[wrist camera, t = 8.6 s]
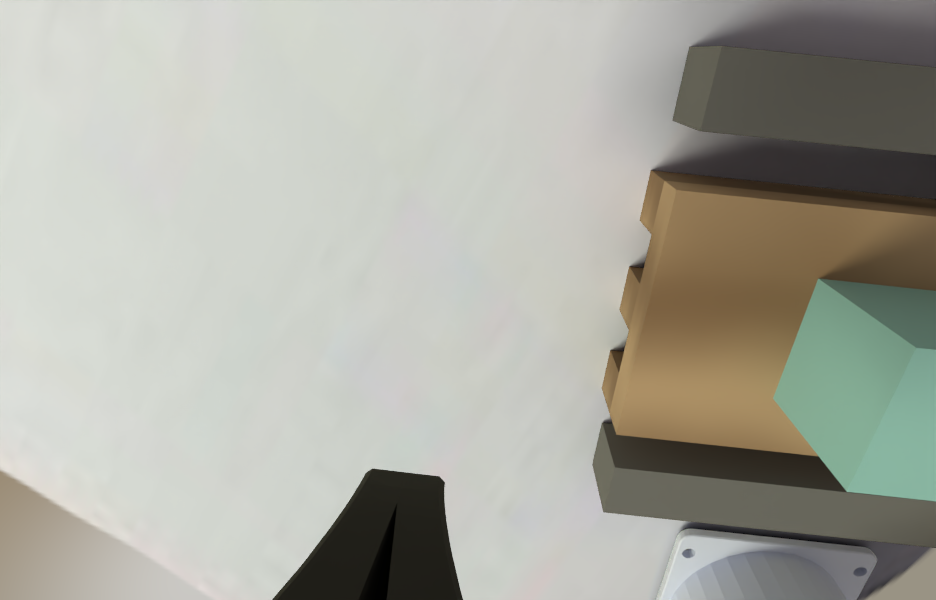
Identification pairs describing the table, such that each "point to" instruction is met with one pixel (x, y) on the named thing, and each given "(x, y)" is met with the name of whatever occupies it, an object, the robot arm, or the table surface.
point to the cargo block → (867, 386)
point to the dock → (757, 471)
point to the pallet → (745, 299)
